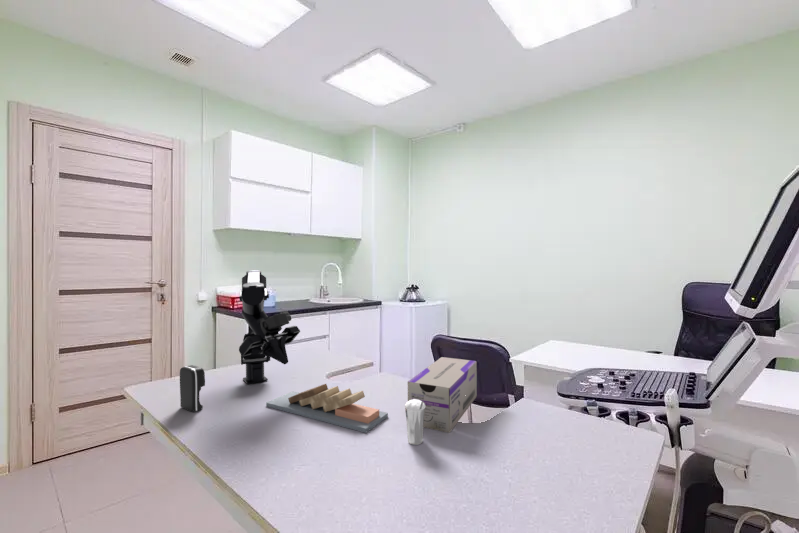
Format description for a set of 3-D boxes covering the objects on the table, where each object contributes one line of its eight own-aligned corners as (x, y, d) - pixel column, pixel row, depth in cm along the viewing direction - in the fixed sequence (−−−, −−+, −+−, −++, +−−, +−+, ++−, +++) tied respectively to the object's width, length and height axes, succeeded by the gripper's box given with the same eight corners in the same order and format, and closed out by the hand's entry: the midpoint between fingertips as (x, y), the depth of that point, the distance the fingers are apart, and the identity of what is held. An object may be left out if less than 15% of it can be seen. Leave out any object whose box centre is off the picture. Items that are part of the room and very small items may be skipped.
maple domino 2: (310, 403, 100) (337, 394, 95) (323, 397, 104) (349, 388, 100) (312, 409, 99) (339, 400, 95) (324, 403, 104) (351, 394, 99)
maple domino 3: (322, 406, 98) (351, 396, 93) (334, 399, 102) (362, 390, 98) (324, 412, 97) (353, 403, 93) (336, 405, 102) (365, 396, 97)
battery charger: (207, 408, 103) (206, 366, 103) (193, 413, 100) (192, 370, 100) (193, 403, 107) (192, 362, 107) (179, 407, 104) (178, 366, 103)
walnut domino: (288, 398, 104) (313, 389, 99) (301, 392, 108) (326, 383, 103) (289, 403, 103) (315, 395, 99) (303, 397, 108) (328, 389, 103)
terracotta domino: (335, 409, 96) (368, 416, 91) (347, 402, 100) (379, 409, 95) (335, 415, 96) (368, 423, 91) (347, 408, 100) (379, 415, 95)
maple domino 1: (299, 400, 102) (325, 391, 97) (311, 394, 106) (337, 385, 102) (300, 406, 101) (327, 397, 97) (313, 400, 106) (339, 391, 101)
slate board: (266, 406, 104) (266, 402, 104) (292, 394, 113) (292, 391, 113) (365, 432, 88) (365, 428, 88) (387, 416, 97) (387, 413, 97)
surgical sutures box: (449, 433, 88) (449, 387, 88) (407, 424, 93) (407, 381, 93) (476, 397, 111) (476, 361, 111) (441, 391, 115) (441, 357, 115)
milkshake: (413, 450, 80) (413, 403, 80) (401, 439, 85) (401, 395, 85) (431, 445, 82) (431, 399, 82) (418, 435, 87) (418, 391, 87)
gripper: (245, 307, 101) (276, 353, 96) (295, 299, 118) (323, 338, 113) (226, 333, 105) (254, 379, 100) (277, 322, 122) (303, 361, 117)
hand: (286, 363), depth 108 cm, fingers closed
